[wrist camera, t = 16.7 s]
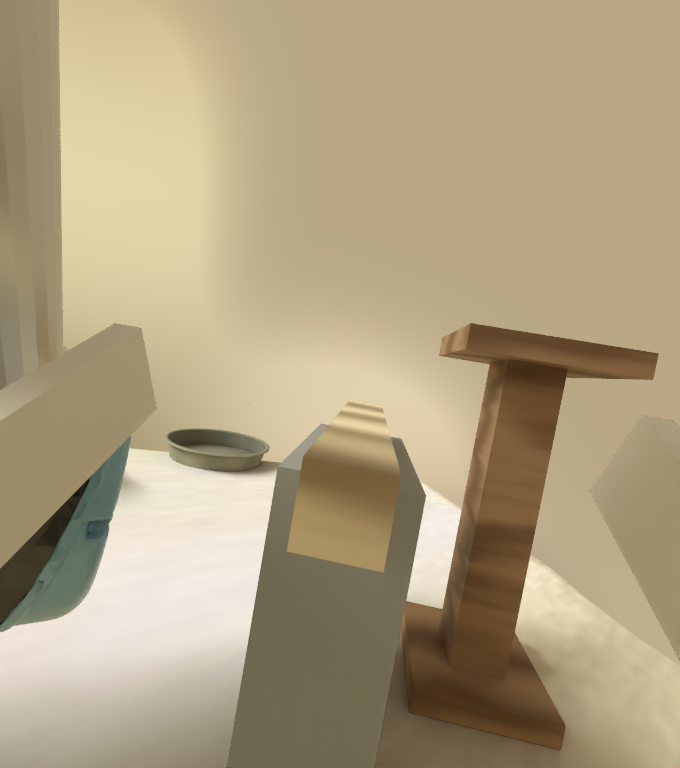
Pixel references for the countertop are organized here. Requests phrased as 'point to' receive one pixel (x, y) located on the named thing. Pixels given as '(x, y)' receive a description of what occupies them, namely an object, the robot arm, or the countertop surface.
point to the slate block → (322, 640)
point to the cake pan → (215, 449)
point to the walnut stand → (501, 536)
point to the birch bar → (348, 491)
